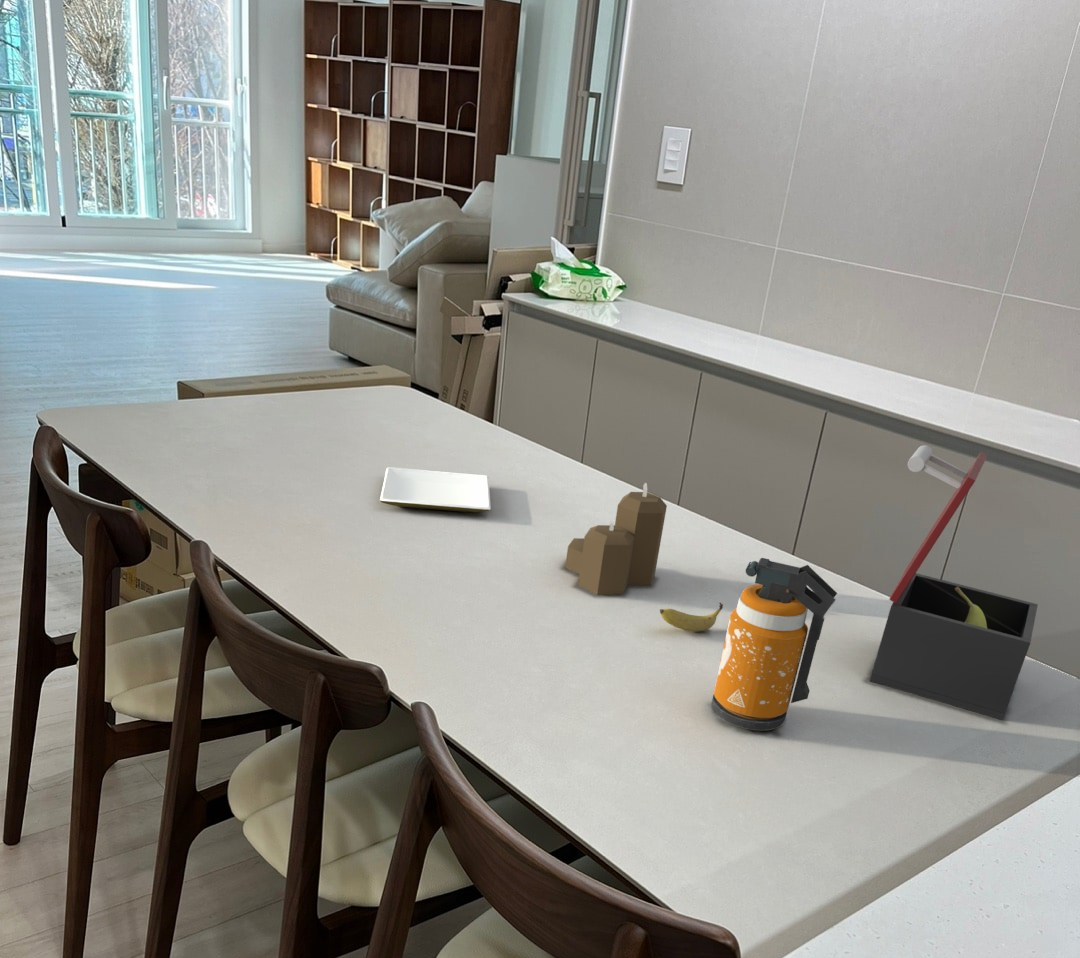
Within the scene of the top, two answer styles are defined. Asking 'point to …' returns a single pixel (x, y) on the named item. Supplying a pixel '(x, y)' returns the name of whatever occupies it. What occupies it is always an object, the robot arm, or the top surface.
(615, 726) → the top surface
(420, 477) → the plate
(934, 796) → the top surface
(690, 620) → the banana
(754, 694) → the canister
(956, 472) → the lid
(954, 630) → the dark grey open box
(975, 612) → the fruit
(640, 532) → the candle
